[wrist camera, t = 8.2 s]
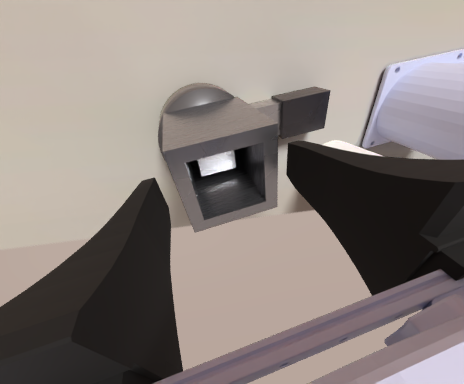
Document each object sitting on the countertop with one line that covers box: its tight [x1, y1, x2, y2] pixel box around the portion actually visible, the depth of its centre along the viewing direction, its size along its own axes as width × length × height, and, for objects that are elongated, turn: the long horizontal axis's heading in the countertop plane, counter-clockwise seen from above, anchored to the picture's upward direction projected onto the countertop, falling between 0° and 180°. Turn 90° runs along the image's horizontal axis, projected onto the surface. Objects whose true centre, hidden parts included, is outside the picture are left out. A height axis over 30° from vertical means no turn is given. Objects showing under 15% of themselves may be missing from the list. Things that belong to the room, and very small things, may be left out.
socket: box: [162, 97, 278, 232], centre depth 12 cm, size 5×5×6 cm
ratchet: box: [158, 83, 330, 176], centre depth 15 cm, size 14×7×5 cm, turn 98°
